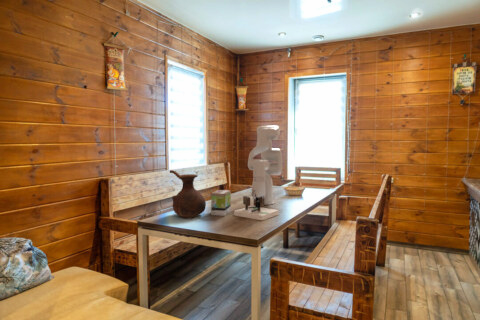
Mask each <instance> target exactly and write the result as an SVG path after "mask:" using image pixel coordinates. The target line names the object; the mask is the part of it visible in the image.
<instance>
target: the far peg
mask: <svg viewBox="0 0 480 320" xmlns="http://www.w3.org/2000/svg"><path fill="white" fill-rule="evenodd" d="M242 203H243V205H245V206H244V208H245V209H246V210H247V209H248V208H256V207H250V206H251V197H249V196H248V195H243V196H242Z"/></svg>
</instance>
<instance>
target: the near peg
mask: <svg viewBox="0 0 480 320" xmlns="http://www.w3.org/2000/svg"><path fill="white" fill-rule="evenodd" d="M257 199H258V198H257ZM259 202H260V207H261V208H265V205H264V198H259ZM253 206H255V200H254V199H253ZM257 210H258V211H260V208H258V209H255V210H252V211H251V212H254V211H257Z"/></svg>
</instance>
